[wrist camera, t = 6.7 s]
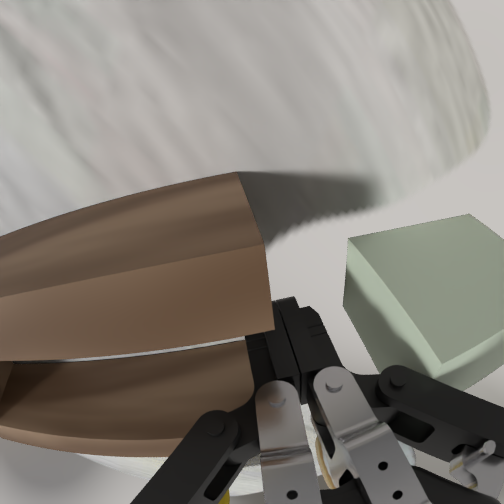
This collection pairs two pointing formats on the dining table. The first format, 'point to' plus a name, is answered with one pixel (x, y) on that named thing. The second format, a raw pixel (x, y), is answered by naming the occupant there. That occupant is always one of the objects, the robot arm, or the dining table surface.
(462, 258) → the sage block
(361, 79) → the dining table surface
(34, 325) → the rail
